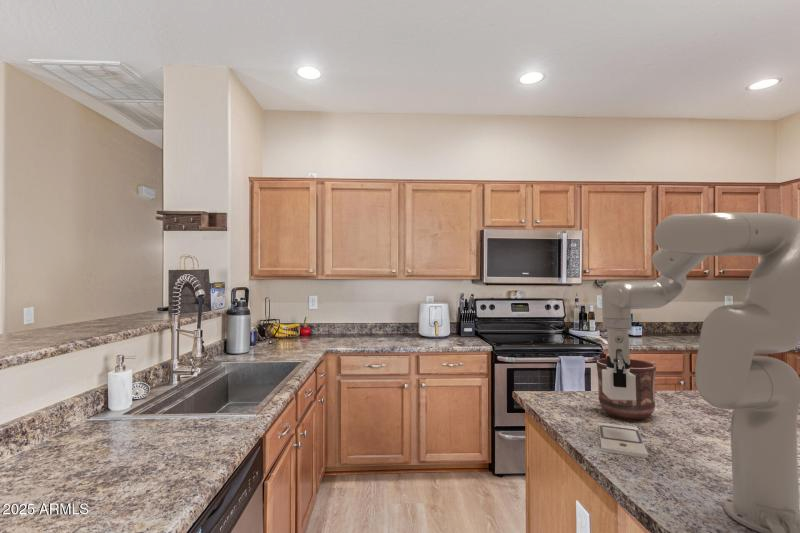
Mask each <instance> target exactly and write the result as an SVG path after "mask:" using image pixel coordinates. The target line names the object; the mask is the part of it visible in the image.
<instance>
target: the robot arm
mask: <svg viewBox="0 0 800 533" xmlns="http://www.w3.org/2000/svg"><path fill="white" fill-rule="evenodd" d="M653 234H654V236H653V238H654V242H655V244H656V245H657V247H658V249H657V250H656V251H655V252H654V253H653V255H652V257H651V261H652V264H653V267H654V268H655V270H657V272H659V273H660V274H661V275H660V276H659V277H658V278H656V279H655V280H654V281H634V282H633V281H631V282H630V281H627V282H606V283H603V284H602V286H601V308H602V309H601V310H602V311H601V312H602V329H604V330H606V336H607V349H608V356H609V357H610V360H611V363H613V364H614V372H613V385H614V387H623V388H626V373H625V363H628V364H627V365H629V364H630V359H631V358H630V341H629V339H630V338H629V331H631V330H633V329H632V310H646V309H660V308H663V307H665V306H666V305H668V304H669V303H671V302H672V301H674V300H675V299H676V298H677V297H679V296H680V295H681V293H683V292H684V289H685V286H686V283H687V275H688V274H689V273H690V272H691V271H693V269H695V268H696V267H697V266H699V264H701V263H702V262H703V261H704V260H706V259H707V258H708V257H709V256H712V257H714V256H715V257H731V256H732V257H746V256H747V257H750V256H758V257H760V261H759V263H758V264H757V265H756V266H755V267H754V268H753V271H752V272H751V274H750V276H749V278H748V281H747V284H746V285H747V286H746V293H745V297H744V300H743V302H742V303H740V304H739V303H738V304H737V303H735V304H725V305H721V306H719V307H717V308H714V309H713V310H711V311H710V312H709V313H708V314H707V316H706V317H705V318H704V320H703V323H702V324H701V330H700V333H699V335H700V336H699V341H698V349H697V354H696V363H695V369H694V370H695V371H694V380H695V386H696V390H697V391H698V392H697V393H699V395H700V396H701V398H702V400H704V401H705V402H706V403H707V404H709V405H710V406H712V407H715V408H717V409H721V410H733V411H732V414H731V418H730V447H731V448H730V449H731V473H732V474H731V475H732V496H727V497H726V498H725V499H724V500H723V508H724V512H726V514H727V515H728V516H729V517H730V518H732V519H733V520H735V521H736V522H738V524H740V525H743V526H744V527H746V528H748V529H751V530H753V531H755V532H758V533H800V488H799V467H798V466H799V465H798V464H799V463H798V432H797V431H798V430H797V429H798V428H797V427H798V415H799V409H800V376H799V374H798V373H797V371H796V370H795V369H794V368H793V367H792V366H791V365H790V364H789V363H786V362H785V361H783V360H781V359H778V358H776V357H770V356H764V355H769V354H771V355H772V354H778V353H779V354H780V353H785V352H789V351H792V350H793V349H796V347H798V344H799V343H800V219H798V218H796V217H793V216H789V215H786V214H782V213H781V214H780V213H775V212H774V213H772V212H771V213H770V212H711V213H710V212H709V213H708V212H707V213H687V214H686V213H674V214H670V215H669V216H666V217H665V218H663V219H662V220H661V221H660V222H659V223H658V224H657V225H656V228H655V230H654V233H653ZM761 355H762V356H761ZM615 361H618V362H615ZM624 361H625V362H624Z"/></svg>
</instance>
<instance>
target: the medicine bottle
mask: <svg viewBox="0 0 800 533" xmlns="http://www.w3.org/2000/svg"><path fill="white" fill-rule="evenodd" d="M605 358H606V363H607V369H608V370H607V369H603V370H602V392H603V393H604V394H605V395H606V396H607V397H608V398H609V399H612V400H634V401H636V376H635V375H633V374H632V373H630V372H629V371H630V364H629V365H627V364H628V363H625V373H626V388H623V387H614V385H613V372H614V364H613V363H611V360H610V357H609V355H607V356H606V357H605ZM615 362H618V361H615ZM624 362H625V361H624Z"/></svg>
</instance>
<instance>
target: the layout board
mask: <svg viewBox="0 0 800 533" xmlns="http://www.w3.org/2000/svg"><path fill="white" fill-rule="evenodd" d="M597 425H598V426H597V427H598V432H599V433H598V434H599V442H600V446H601V452H604V453H612V454H617V455H624V456H631V457H635V458H636V457H637V458H643V459H649V453H648V451H647V448H646V446H645V443H644V440H643V438H642V436H641V433H640V430H639V427H638V426H629V425H622V424H614V423H607V422H597Z"/></svg>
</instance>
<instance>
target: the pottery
mask: <svg viewBox="0 0 800 533" xmlns="http://www.w3.org/2000/svg"><path fill="white" fill-rule="evenodd" d="M596 369H597V382H598V385H597V386H598V387H597V388H598V391H597V392H598V393H597V394H598V401H599V404H600V406H601V408H602V410H604V412H605V413H606V414H607V415H608V416H610V417H612V418H614V419H618V420H621V421H626V422H627V421H628V422H641V421H645V420H646V419H647V418H649V417H650V416H652V414H653V413H654V411H655V409H656V408H655V407H656V393H655V386H656V384H655V382H656V379H655V378H656V372H657V365H656V364H655V363H653V362H650V361H646V360H642V359H641V360H640V359H635V358H630V371H629V372H630V373H632V374H633V375H635V376H636V401H634V400H612V399H609V398H608V397H607V396H606V395H605V394H604V393H603V392H602V370H603V369H607V363H606V357H605V358H604V357H603V358H599V359H597V360H596ZM607 370H608V369H607Z"/></svg>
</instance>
